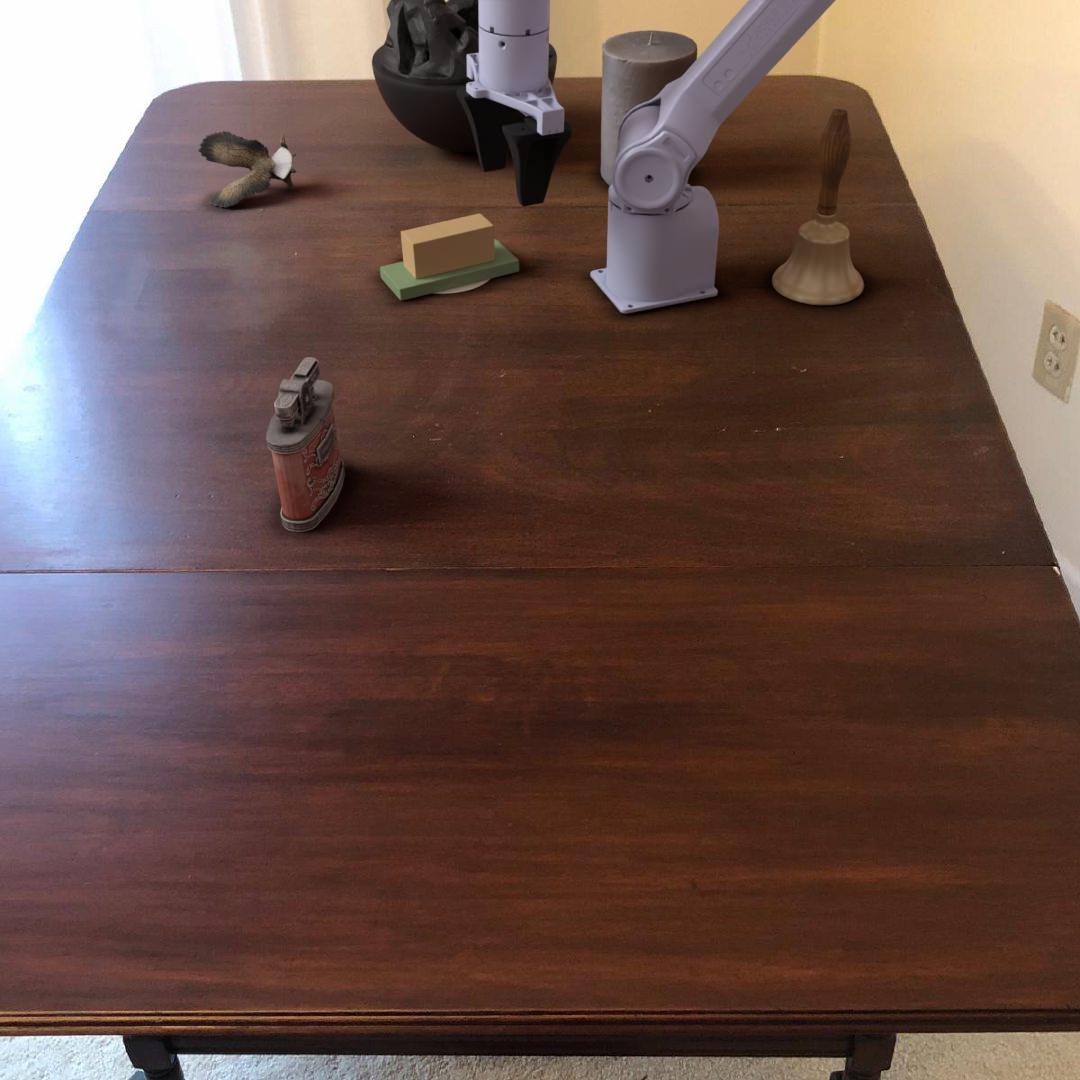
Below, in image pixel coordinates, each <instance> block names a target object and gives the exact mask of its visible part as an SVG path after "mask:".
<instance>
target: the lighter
mask: <svg viewBox="0 0 1080 1080" xmlns="http://www.w3.org/2000/svg"><path fill="white" fill-rule="evenodd" d="M320 376H321V368H320V362H319V360H318V359H316V358H315V357H308V356H307V357H304V359H303V360H302V361H301V363H300V364H299V365H298V367H297V368H296V370H295V371H294V373H293V375H291V377H290V378H289V379H286V378H284V379H283V378H282V380H281V382H280V384H279V388H278V395H277V396H278V397H276V399H275V401H274V403H273V405H274V413H273V415H272V417H271V419H270V421H269V424H268V427H267V430H266V433H265V440H266V445H267V448H268V449H269V451H271V455H272V461H273V467H274V471H275V477H276V482H277V489H278V494H279V499H280V504H281V508H280V512H279V513H280V520H281V523H282V524H281V525H282V526H283V528H284V529H285V530H288V531H290V532H295V533H303V532H308V531H310V530H314V528H316V527H317V526H318V525H319V524H320V523H321V521H322V520H323V519H324V518H325V517H326V516H327V515H328V514H329V512H330V511H331V509H332V508H333V506H334V505H335V503H336V502H337V500H338V497H339V495H340V492H341V490H342V488H343V485H344V480H345V477H346V472H345V464H344V460H343V459H342V458H341V454H340V448H339V439H338V433H337V427H336V426H337V425H336V419H335V412H334V405H333V404H334V401H335V392H334V386H333V384H332V383H331V382H329V381H326V380H323V379H319V378H320Z"/></svg>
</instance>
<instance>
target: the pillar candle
mask: <svg viewBox="0 0 1080 1080" xmlns="http://www.w3.org/2000/svg"><path fill="white" fill-rule="evenodd" d="M601 46H602V47H601V50H602V54H601V57H602V58H601V59H602V60H601V61H602V62H601V63H602V66H601V112H600V113H601V114H600V115H601V118H600V119H601V122H600V123H601V124H600V175H601V178H602V179H603V181H604V182H605V183H606V184H607V185H608V186H609V187H610V186H611V184H612V180H611V172H612V167H613V163H614V161H615V159H616V154H617V148H618V131H619V127H620V124H621V122H622V120H623V118H624V117H625V115H626V114H627V113H628V112H629V111H630V110H631V109H633V108H634V107H636V106H637V105H639V104H642V103H644V102H647V101H649V100H651V99H653V98H654V97H656V96H657V95H658V94H659V93H660V92H661V91H662V90H663V88H664V87H665V86H666V85H667V84H669V83H671V82H672V81H674V80H676V79H678V78H680V77H682V76H683V75H684V73H685V72H686V71H687V70H688V69H689V68H690V67H691V65H692V64H693V63H694V62H695V61H696V60H697V59H698V44H697V43H696V42H695V41H694V39H692V38H690V37H689V36H687V35H684V34H681V33H678V32H673V31H666V30H665V31H664V30H656V29H655V30H653V29H650V30H647V29H646V30H636V31H628V32H624V33H617V34H615V35H613V36H609V37H608V38H607V39H606V40H605V42H603V43H602V44H601ZM690 177H691V174H690V175H689V178H688V181H690Z"/></svg>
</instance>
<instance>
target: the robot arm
mask: <svg viewBox="0 0 1080 1080" xmlns="http://www.w3.org/2000/svg"><path fill="white" fill-rule="evenodd" d="M478 1H479V53H473V54H467V77H469V78H470V79H471V80H473V82H469V83H467V84H466V87H461V88H459V89H458V90H457V97H458V99H459V100H460V102H461V104H462V106H463V108H464V110H465V112H466V115H467V117H468V120H469V123H470V126H471V129H472V132H473V136H474V140H475V144H476V149H477V151H476V153H477V158H478V162H479V165H480V168H481V170H482V172H484V173H490V172H495V171H500V170H505V169H506V167H507V163H508V159H509V158H508V157H509V153H511V158H512V163H513V167H514V168H513V169H514V177H515V189H516V195H517V199H518V203H519V205H520V206H522V207H530V206H534V205H540V204H544V203H545V199H546V196H547V192H548V189H549V185H550V182H551V180H552V176H553V173H554V169H555V167H556V164H557V163H558V159H559V158H560V155H561V153H562V152H563V150H564V148H565V147H566V145H567V143H568V142H569V140H570V139H571V138H572V136H573V132H574V131H573V129H574V127H573V126H572V124H570V123H569V122H568V121H566V120H565V110H566V109H565V108H564V107H563V106H562V105H561V104H560V103H559V101H558V99H557V96H556V94H555V90H554V87H553V85H551V82H550V80H549V78H548V59H549V43H550V20H551V19H550V17H551V16H550V15H551V14H550V13H551V0H478ZM835 2H836V0H747V2H745V3H744V4H743V6H742V7H741V8H740V10H738V12H736V14H734V16H733V17H732V18H731V20H730V21H729V22H728V23H727V24H726V25H725V26H724V27H723V29H722V30H721V31H720V32H719V33H718V34H717V36H716V37H715V38H714V39H713V40H712V41H711V43H710V44H709V45H708V46H707V47H706V48H705V49H704V51H703V52H702V53H701V54H700V55H699V56H697V60H696V61H695V62H694V63H693V64H692V65H691V67H690V68H689V69H688V70H687V71H686V72H685V73H684V75H683V76H682V77H680V78H678V79H676V80H674V81H672V82H671V83H669V84H667V85H666V86H665V87H664V88H663V90H662V91H661V92H660V93H659V94H658V95H657V96H656V97H654V98H653V99H651V100H649V101H647V102H644V103H642V104H639V105H637V106H636V107H634V108H633V109H631V110H630V111H629V112H628V113H627V114H626V115H625V117H624V118H623V120H622V122H621V124H620V127H619V131H618V148H617V154H616V159H615V161H614V163H613V167H612V172H611V180H612V184H611V186H610V185H609V187H608V198H607V200H608V201H607V203H608V204H607V235H606V236H607V238H606V239H607V240H606V241H607V242H606V243H607V244H606V267H604V268H599V269H594V270H591V271H590V274H589V277H590V278H591V279H592V280H593V282H595V284H596V285H597V286H598V287H599V288H600V290H601V291H602V292H603V293H604V294H605V295H606V297H607V298H608V299H609V300H610V301H611V303H612V304H613V305H614V306H615V308H616V309H617V310H618V311H619V312H620V313H621V314H624V315H627V314H631V313H632V314H633V313H637V312H642V311H646V310H652V309H657V308H662V307H663V308H664V307H667V306H672V305H673V306H674V305H677V304H683V303H689V302H693V301H698V300H704V299H709V298H714V297H716V296H718V293H719V292H718V289H717V287H715V283H716V282H715V281H716V271H717V259H718V258H717V256H718V246H719V237H720V236H719V235H720V220H719V219H720V218H719V213H718V208H717V204H716V201H715V199H714V197H713V195H712V194H711V192H710V191H709V190H708V189H707V188H706V187H704V186H703V185H694V186H693V185H691V184H690V183H688V182H689V180H688V178H689V175H690V176H691V172H692V171H693V169H694V168H695V167H696V166H697V164H698V163H700V161H701V160H702V159H703V158H704V156H705V154H706V153H707V151H708V149H709V147H710V145H711V144H712V141H713V139H714V137H715V136H716V134H717V131H718V130H719V128H720V126H721V125H722V124H723V123H724V122H725V121H726V120H727V118H728V117H729V116H731V114H732V113H733V112H734V111H735V110H736V109H737V107H739V106H740V105H741V103H743V101H744V100H745V99H746V98H747V97H748V96H749V95H750V94H751V93H752V92H753V90H755V88H756V87H757V86H758V85H759V84H760V83H761V82H762V81H763V79H764V78H765V77H767V75H768V74H769V73H770V72H771V71H772V70H773V69H774V68H775V67H776V66H777V64H778V63H780V61H781V60H782V59H783V58H784V57H785V56H786V55H787V53H788V52H790V50H791V49H792V48H793V47H794V46H795V45H796V44H797V43H798V42H799V40H801V39H802V37H803V36H804V35H805V34H806V33H807V32H808V31H809V30H810V29H811V28H812V27H813V25H814V24H815V23H817V21H818V20H819V19H820V18H821V17H822V16H823V15H824V14H825V12H827V10H828V9H829V8H830V7H831V6H832V5H833V4H834V3H835ZM516 109H517V110H519V111H520V112H521V113H523V114H524V115H525V123H523V122H522V123H516V124H512V122H513V118H514V114H515V110H516ZM509 151H510V152H509ZM689 179H690V178H689Z"/></svg>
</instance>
